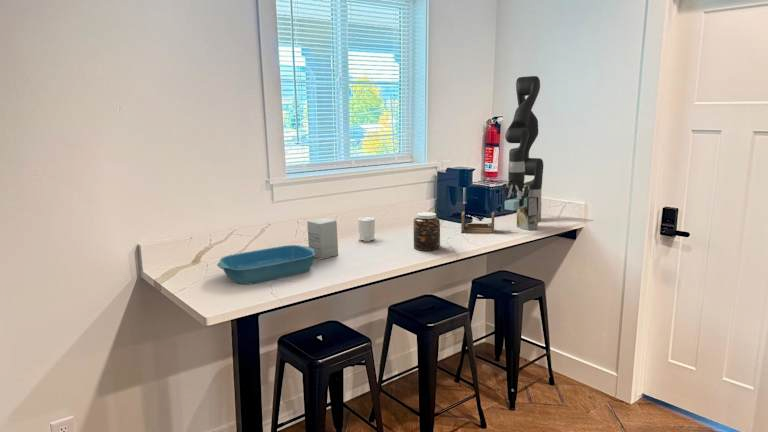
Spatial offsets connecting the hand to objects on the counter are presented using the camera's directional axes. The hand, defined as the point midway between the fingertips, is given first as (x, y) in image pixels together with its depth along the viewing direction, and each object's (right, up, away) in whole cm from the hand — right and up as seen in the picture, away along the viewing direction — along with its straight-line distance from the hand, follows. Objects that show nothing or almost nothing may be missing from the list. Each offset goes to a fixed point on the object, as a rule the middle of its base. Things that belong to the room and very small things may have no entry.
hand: (515, 205), depth 250 cm
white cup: (-71, -16, -7) cm, 74 cm away
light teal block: (0, -1, 0) cm, 1 cm away
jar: (-45, -19, -24) cm, 54 cm away
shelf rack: (-18, -13, +5) cm, 22 cm away
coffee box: (+8, -11, +10) cm, 17 cm away
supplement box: (-89, -22, -33) cm, 97 cm away
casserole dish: (-107, -27, -56) cm, 123 cm away
